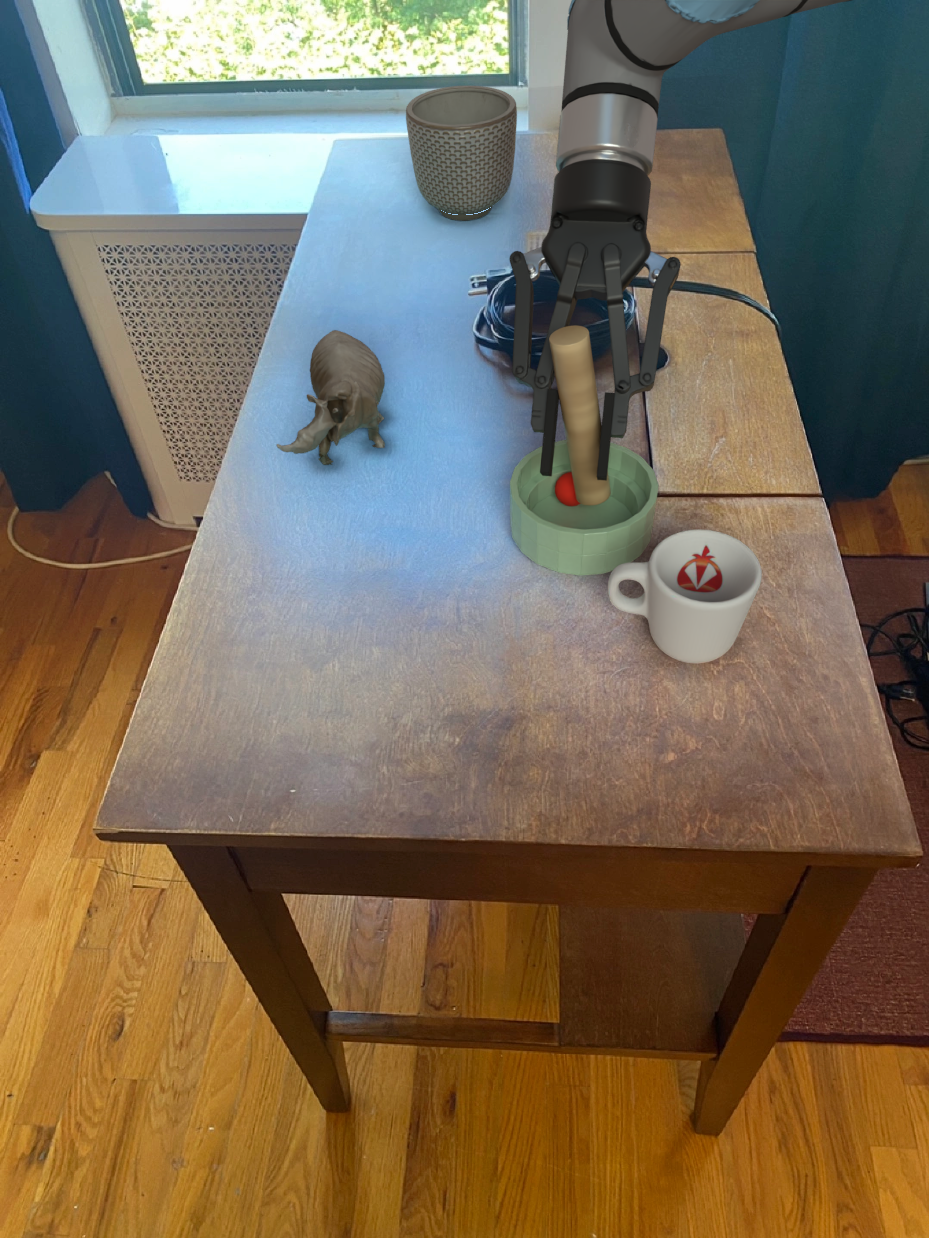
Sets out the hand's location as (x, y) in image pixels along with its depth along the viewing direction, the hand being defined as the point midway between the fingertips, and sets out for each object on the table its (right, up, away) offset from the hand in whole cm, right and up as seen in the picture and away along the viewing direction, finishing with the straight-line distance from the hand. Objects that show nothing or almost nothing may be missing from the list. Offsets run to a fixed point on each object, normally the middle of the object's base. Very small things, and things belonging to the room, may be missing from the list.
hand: (573, 475), depth 73 cm
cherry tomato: (+1, 0, +8) cm, 8 cm away
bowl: (+1, -4, +7) cm, 8 cm away
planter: (-9, +44, +50) cm, 67 cm away
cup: (+8, -13, -1) cm, 15 cm away
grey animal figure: (-20, +6, +18) cm, 28 cm away
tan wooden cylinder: (+2, -1, +6) cm, 6 cm away
